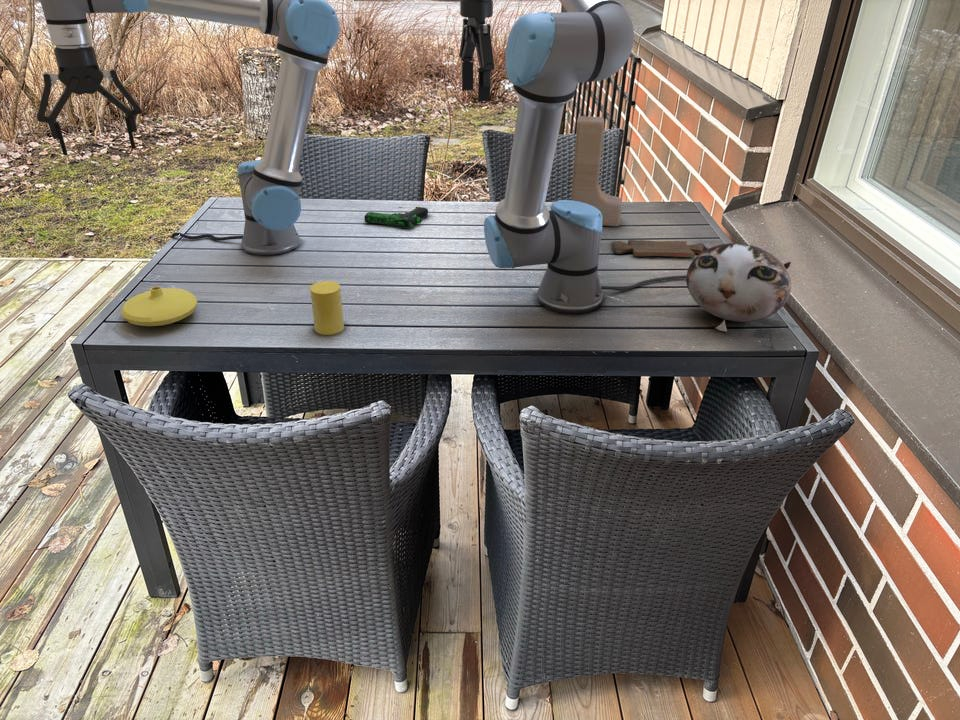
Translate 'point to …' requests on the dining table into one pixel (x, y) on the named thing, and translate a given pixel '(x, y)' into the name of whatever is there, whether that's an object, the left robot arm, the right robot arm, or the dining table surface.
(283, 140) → the left robot arm
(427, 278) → the dining table surface
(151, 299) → the vase
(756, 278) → the plush toy
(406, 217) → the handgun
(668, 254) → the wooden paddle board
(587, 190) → the decorative block
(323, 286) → the tin
